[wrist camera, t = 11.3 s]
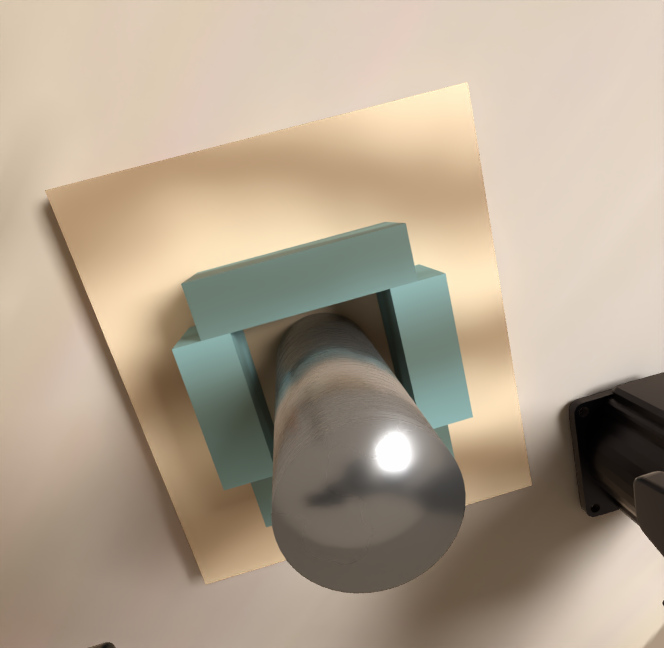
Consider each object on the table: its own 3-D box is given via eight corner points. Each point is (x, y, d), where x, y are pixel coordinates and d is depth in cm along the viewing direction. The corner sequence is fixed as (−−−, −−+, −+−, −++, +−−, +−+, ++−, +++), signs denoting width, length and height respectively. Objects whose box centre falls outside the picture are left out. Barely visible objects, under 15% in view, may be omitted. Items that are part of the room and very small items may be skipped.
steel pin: (380, 389, 19) (480, 561, 10) (291, 414, 19) (301, 615, 10) (359, 301, 18) (446, 395, 9) (264, 327, 18) (245, 453, 8)
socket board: (521, 473, 22) (571, 527, 19) (209, 568, 22) (193, 644, 18) (457, 89, 18) (506, 54, 14) (58, 192, 17) (-7, 184, 13)
